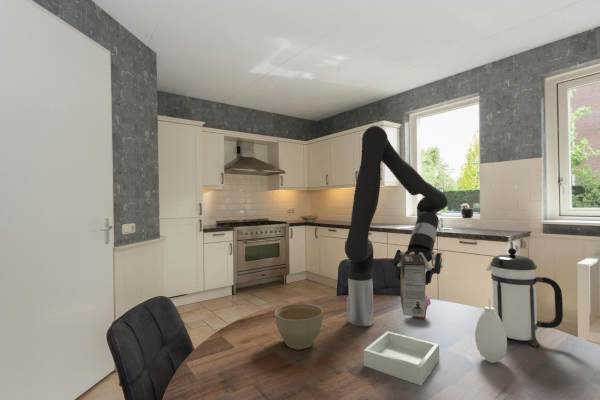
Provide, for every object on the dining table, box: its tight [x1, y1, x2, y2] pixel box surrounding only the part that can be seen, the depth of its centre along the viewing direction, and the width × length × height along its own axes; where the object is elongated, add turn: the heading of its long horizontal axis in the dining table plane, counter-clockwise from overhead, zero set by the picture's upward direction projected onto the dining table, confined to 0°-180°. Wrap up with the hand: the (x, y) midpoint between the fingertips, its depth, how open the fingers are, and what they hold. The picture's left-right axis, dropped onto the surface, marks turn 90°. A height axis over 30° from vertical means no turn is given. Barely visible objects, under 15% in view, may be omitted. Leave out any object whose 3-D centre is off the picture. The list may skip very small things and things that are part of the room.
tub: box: [363, 330, 440, 386], centre depth 90 cm, size 16×16×4 cm
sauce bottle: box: [474, 298, 508, 364], centre depth 89 cm, size 8×8×18 cm
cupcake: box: [411, 293, 431, 320], centre depth 124 cm, size 9×9×10 cm
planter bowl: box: [274, 303, 324, 350], centre depth 104 cm, size 16×16×11 cm
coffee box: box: [400, 254, 427, 318], centre depth 93 cm, size 9×6×16 cm
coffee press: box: [485, 247, 564, 348], centre depth 103 cm, size 17×16×30 cm
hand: (411, 281), depth 95 cm, fingers closed on coffee box, 8 cm apart
